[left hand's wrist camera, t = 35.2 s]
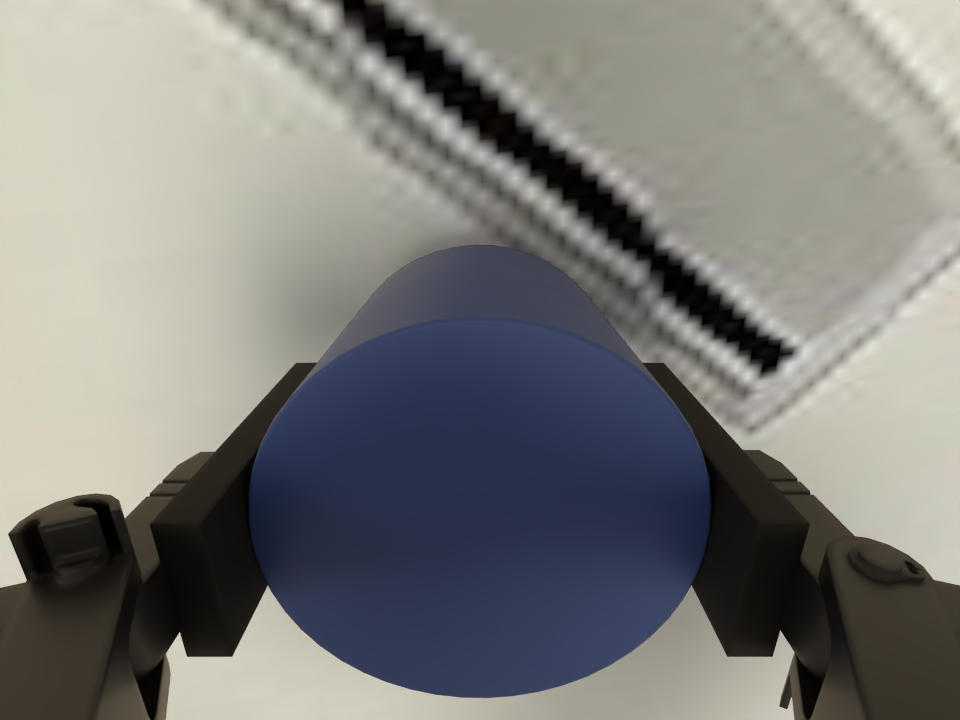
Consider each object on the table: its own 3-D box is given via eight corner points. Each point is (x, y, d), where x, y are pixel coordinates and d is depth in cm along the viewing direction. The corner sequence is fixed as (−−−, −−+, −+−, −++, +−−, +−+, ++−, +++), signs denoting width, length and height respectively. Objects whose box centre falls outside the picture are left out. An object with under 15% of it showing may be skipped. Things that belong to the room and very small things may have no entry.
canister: (666, 325, 15) (814, 455, 9) (528, 525, 18) (559, 745, 11) (416, 190, 14) (355, 217, 7) (306, 428, 17) (187, 612, 10)
